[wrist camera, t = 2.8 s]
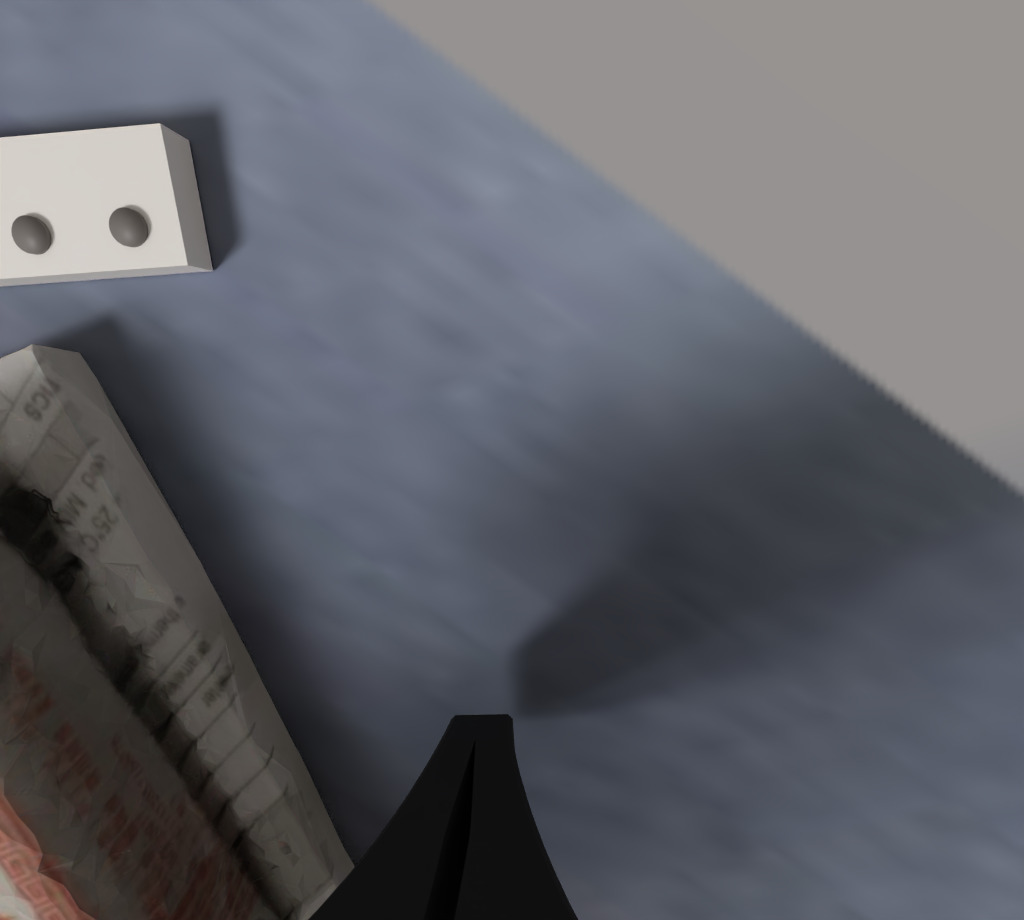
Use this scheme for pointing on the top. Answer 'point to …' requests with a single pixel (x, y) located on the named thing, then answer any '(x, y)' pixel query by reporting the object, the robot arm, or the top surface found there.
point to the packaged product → (130, 692)
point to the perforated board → (99, 206)
